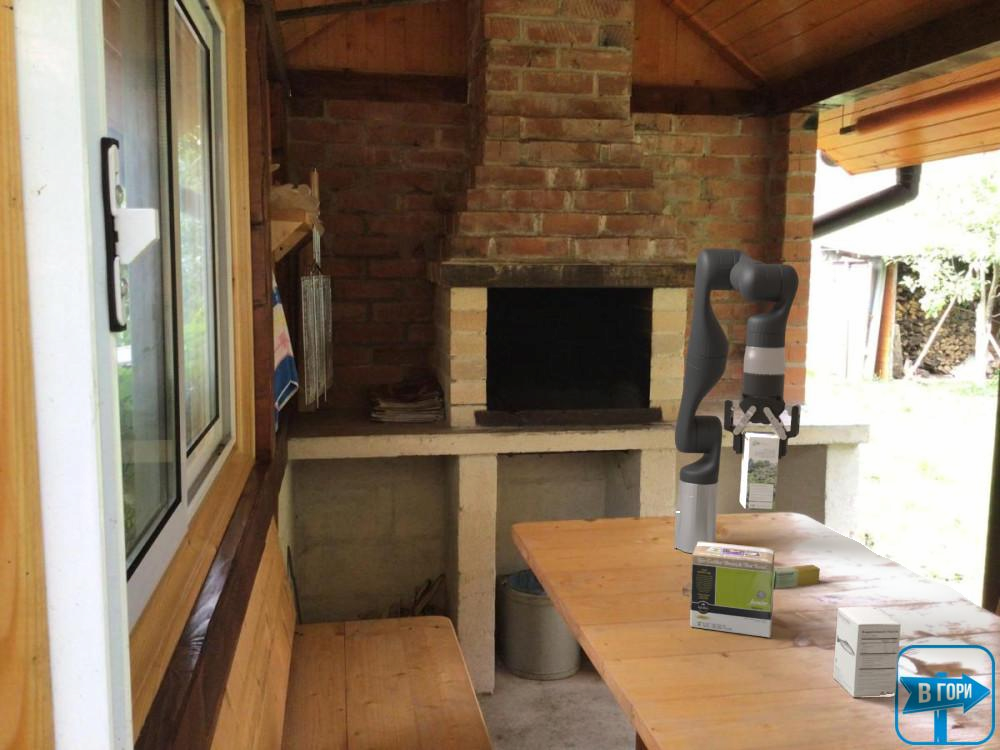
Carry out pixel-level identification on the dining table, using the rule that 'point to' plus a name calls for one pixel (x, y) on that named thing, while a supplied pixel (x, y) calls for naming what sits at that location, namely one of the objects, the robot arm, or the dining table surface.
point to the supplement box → (866, 651)
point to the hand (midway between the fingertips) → (759, 455)
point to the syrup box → (759, 470)
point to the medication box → (796, 576)
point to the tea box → (732, 588)
